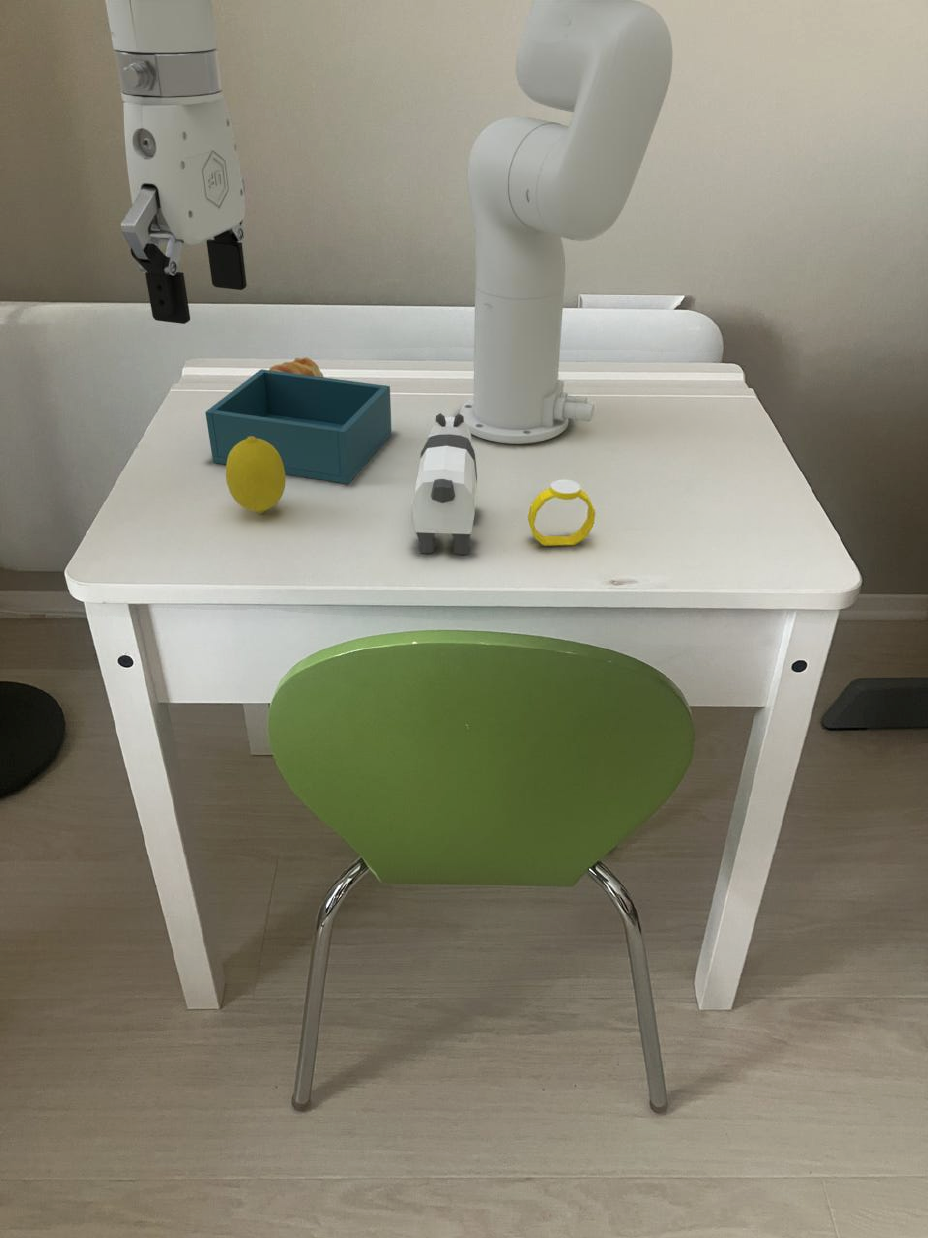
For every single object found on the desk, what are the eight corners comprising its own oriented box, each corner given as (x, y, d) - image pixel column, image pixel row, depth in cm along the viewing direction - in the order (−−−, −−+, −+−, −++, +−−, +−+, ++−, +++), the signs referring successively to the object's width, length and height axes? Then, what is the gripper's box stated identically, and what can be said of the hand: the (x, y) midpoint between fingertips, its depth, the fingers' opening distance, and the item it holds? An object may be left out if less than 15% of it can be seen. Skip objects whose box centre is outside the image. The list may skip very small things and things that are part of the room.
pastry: (272, 415, 113) (269, 384, 111) (236, 400, 117) (231, 370, 115) (331, 392, 119) (329, 362, 117) (295, 378, 123) (292, 349, 120)
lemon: (277, 529, 92) (268, 452, 87) (222, 523, 93) (210, 446, 88) (297, 502, 96) (289, 427, 92) (244, 496, 97) (234, 422, 92)
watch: (530, 552, 89) (533, 495, 85) (524, 537, 91) (527, 480, 88) (594, 548, 90) (599, 491, 86) (586, 533, 92) (592, 477, 88)
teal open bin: (391, 434, 109) (390, 385, 106) (348, 484, 100) (344, 431, 96) (266, 416, 113) (261, 368, 110) (212, 462, 103) (204, 411, 100)
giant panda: (473, 562, 87) (475, 466, 82) (412, 560, 88) (409, 464, 82) (478, 486, 99) (480, 398, 94) (424, 484, 100) (423, 396, 94)
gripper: (151, 94, 66) (188, 341, 76) (266, 67, 79) (286, 280, 89) (56, 88, 68) (105, 330, 77) (185, 63, 81) (213, 272, 91)
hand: (202, 303), depth 83 cm, fingers open, 9 cm apart
